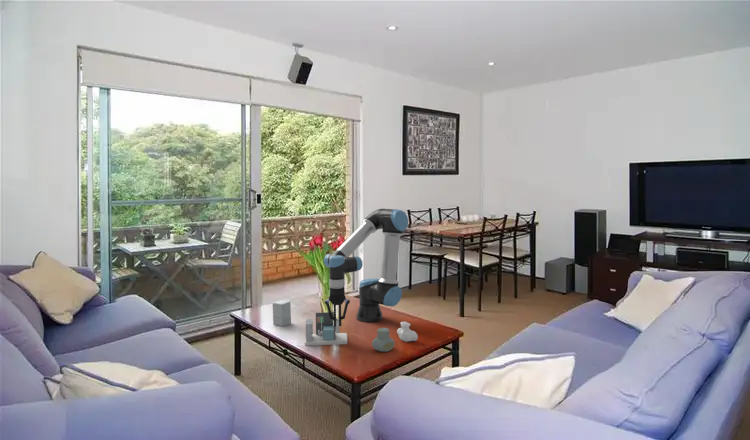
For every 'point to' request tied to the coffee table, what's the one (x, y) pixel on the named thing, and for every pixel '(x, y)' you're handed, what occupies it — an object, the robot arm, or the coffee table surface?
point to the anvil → (309, 330)
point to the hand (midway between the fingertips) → (337, 332)
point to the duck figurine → (406, 333)
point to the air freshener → (383, 341)
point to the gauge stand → (326, 321)
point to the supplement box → (281, 313)
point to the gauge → (327, 332)
